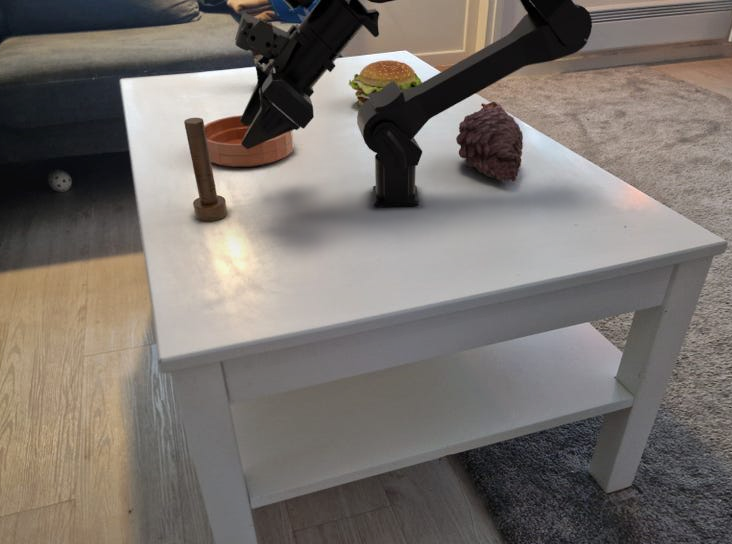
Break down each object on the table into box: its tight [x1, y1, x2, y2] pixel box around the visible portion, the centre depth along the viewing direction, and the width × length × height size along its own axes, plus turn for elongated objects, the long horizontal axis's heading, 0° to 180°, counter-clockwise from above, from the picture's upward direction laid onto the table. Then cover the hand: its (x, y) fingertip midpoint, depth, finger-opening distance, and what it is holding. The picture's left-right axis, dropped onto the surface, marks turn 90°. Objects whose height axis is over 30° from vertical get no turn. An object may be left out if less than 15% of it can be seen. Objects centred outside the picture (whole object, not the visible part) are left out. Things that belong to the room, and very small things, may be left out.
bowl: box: [204, 114, 295, 168], centre depth 108 cm, size 15×15×4 cm
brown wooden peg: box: [183, 117, 228, 222], centre depth 87 cm, size 4×4×13 cm
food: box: [348, 59, 423, 107], centre depth 127 cm, size 14×14×8 cm
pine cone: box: [455, 101, 524, 182], centre depth 100 cm, size 18×10×10 cm
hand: (243, 134), depth 85 cm, fingers open, 9 cm apart
